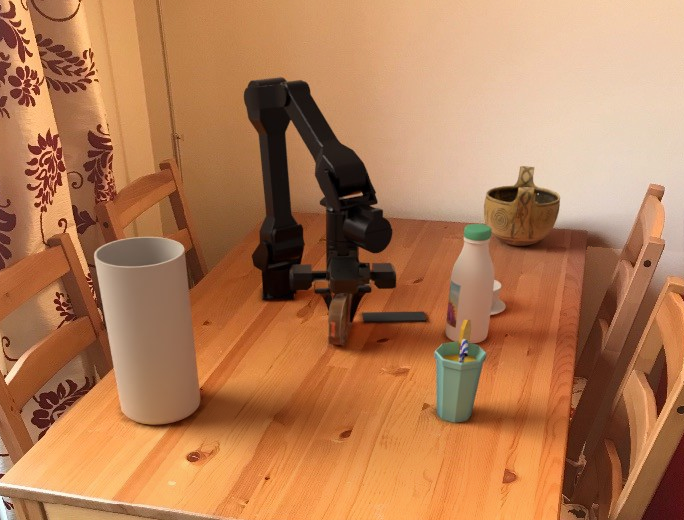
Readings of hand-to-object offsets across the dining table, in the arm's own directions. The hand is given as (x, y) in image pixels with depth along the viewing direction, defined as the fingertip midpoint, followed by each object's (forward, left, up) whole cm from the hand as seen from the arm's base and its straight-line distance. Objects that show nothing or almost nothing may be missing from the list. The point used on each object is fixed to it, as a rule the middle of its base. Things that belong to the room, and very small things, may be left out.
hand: (342, 321), depth 146 cm
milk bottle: (+23, -1, -3) cm, 23 cm away
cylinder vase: (-30, -25, -3) cm, 39 cm away
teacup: (+28, +12, -3) cm, 30 cm away
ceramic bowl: (+44, +50, -3) cm, 66 cm away
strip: (+10, +7, -3) cm, 13 cm away
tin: (0, 0, -3) cm, 3 cm away
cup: (+16, -30, -3) cm, 34 cm away
